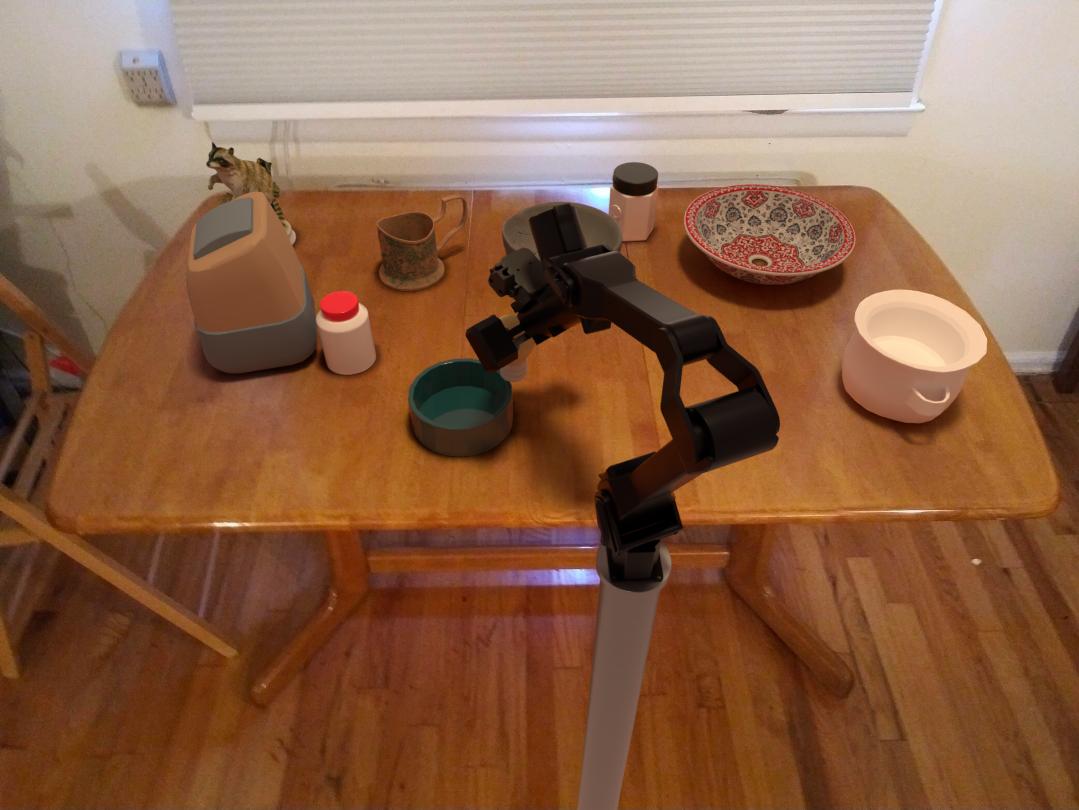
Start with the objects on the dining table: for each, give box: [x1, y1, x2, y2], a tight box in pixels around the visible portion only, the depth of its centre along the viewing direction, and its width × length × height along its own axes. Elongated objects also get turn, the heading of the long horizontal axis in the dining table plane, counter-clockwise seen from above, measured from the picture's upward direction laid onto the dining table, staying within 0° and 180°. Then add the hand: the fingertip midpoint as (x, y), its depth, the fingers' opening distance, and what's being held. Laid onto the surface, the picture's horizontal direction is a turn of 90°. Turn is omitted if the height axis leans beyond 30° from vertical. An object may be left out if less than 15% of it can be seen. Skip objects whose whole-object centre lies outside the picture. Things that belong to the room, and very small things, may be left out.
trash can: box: [185, 192, 318, 374], centre depth 117 cm, size 17×17×23 cm
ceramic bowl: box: [683, 183, 856, 286], centre depth 138 cm, size 29×29×8 cm
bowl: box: [501, 201, 623, 262], centre depth 134 cm, size 20×20×10 cm
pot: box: [841, 289, 988, 424], centre depth 113 cm, size 22×17×12 cm
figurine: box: [205, 141, 297, 246], centre depth 139 cm, size 12×14×20 cm
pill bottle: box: [315, 290, 377, 376], centre depth 118 cm, size 8×8×11 cm
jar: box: [607, 161, 660, 242], centre depth 145 cm, size 9×8×12 cm
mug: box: [375, 194, 469, 292], centre depth 136 cm, size 12×18×12 cm, turn 124°
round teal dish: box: [407, 357, 514, 458], centre depth 111 cm, size 14×14×6 cm
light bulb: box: [498, 313, 536, 383], centre depth 107 cm, size 6×6×10 cm
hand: (506, 335), depth 106 cm, fingers closed on light bulb, 6 cm apart
